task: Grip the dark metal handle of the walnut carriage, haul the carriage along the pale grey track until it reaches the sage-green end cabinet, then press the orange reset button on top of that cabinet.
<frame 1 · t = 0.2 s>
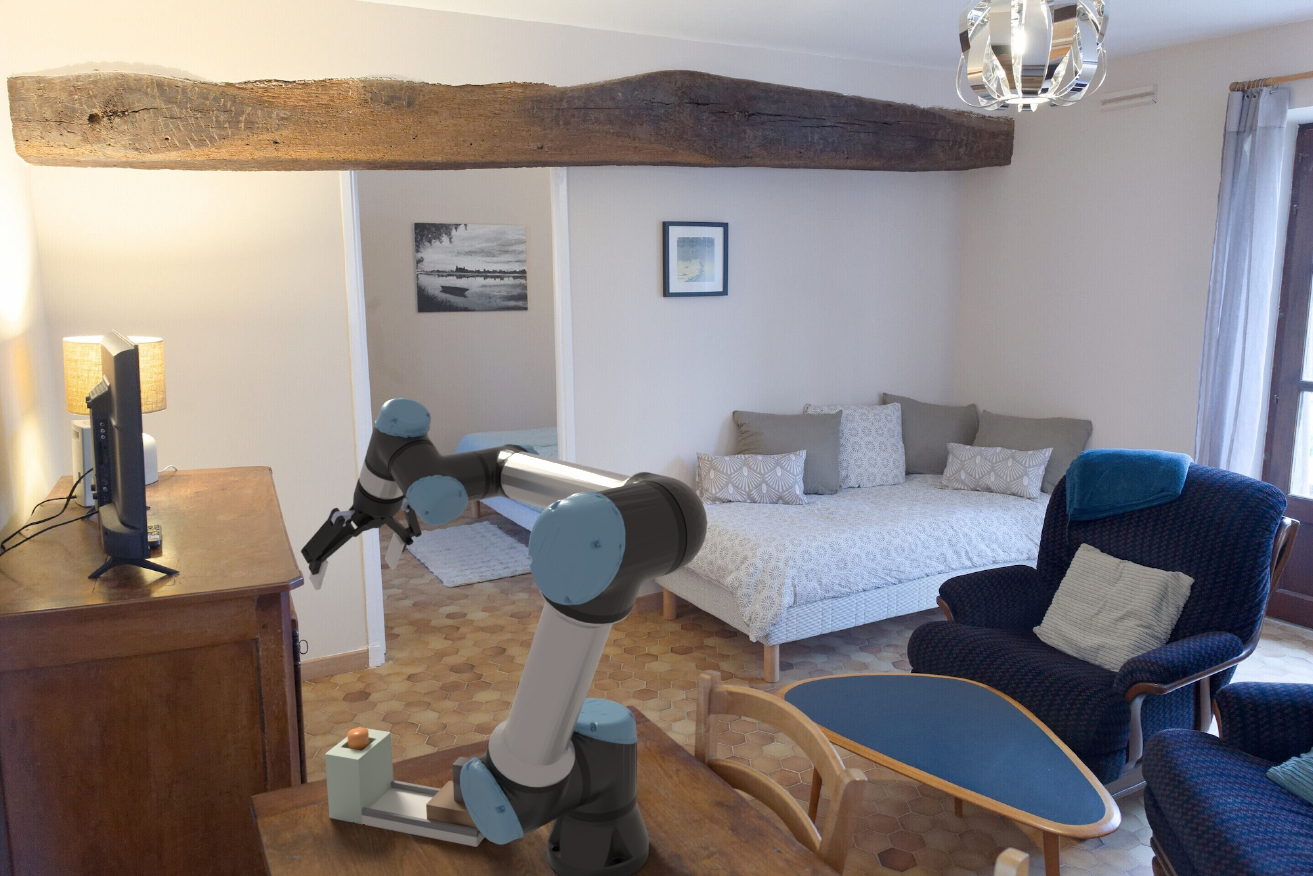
hand: (353, 573, 155), 35 cm above the table, tool tilted 35°, fingers open, 13 cm apart
reset button: (358, 739, 148), point 12 cm above the table, slide at 0.0 cm
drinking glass: (550, 756, 165), on the table
track: (433, 819, 146), on the table
carriage: (466, 788, 143), point 6 cm above the table, slide at 0.0 cm
end cabinet: (362, 805, 150), on the table
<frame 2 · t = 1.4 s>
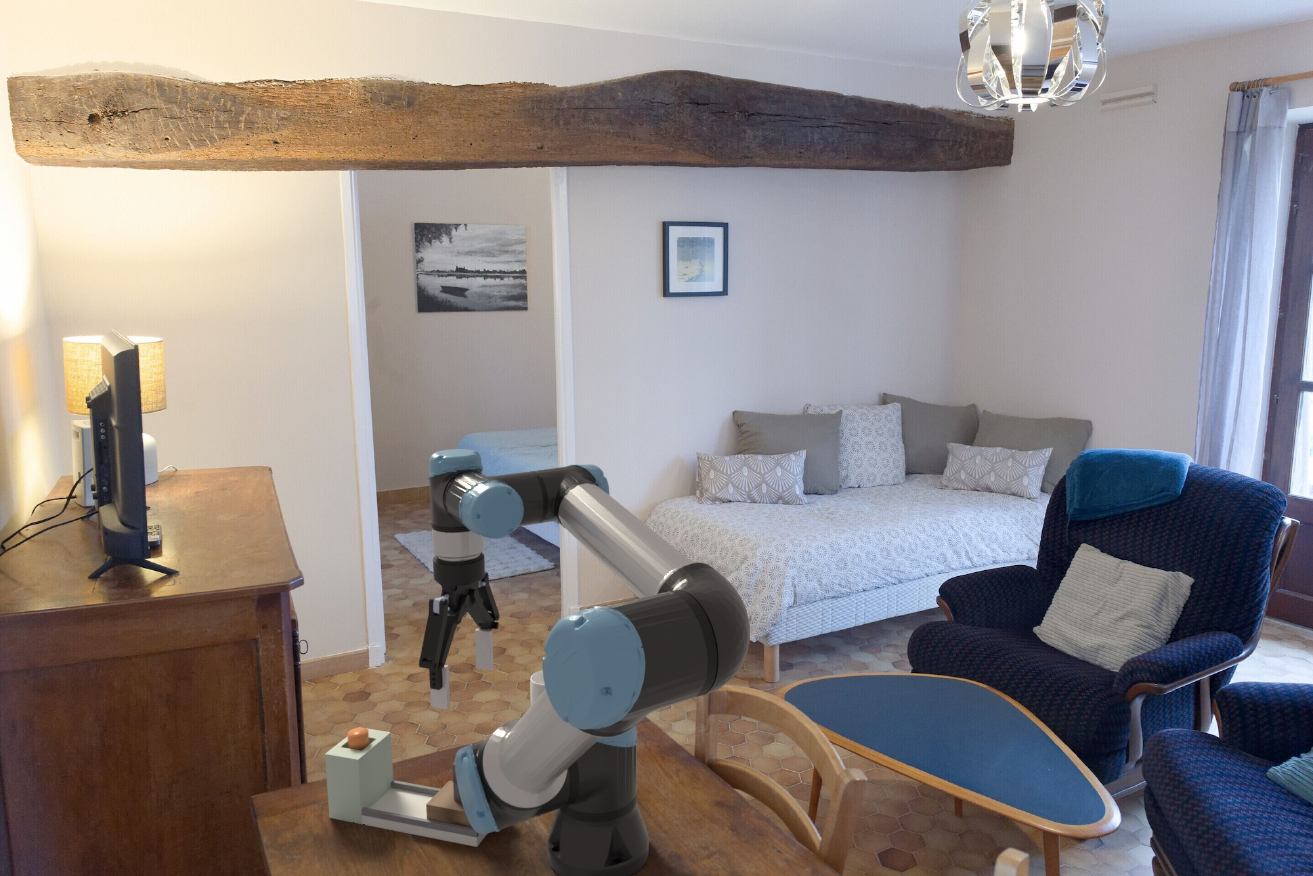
hand: (463, 687, 141), 23 cm above the table, tool pointing down, fingers open, 13 cm apart
nothing on the table moved.
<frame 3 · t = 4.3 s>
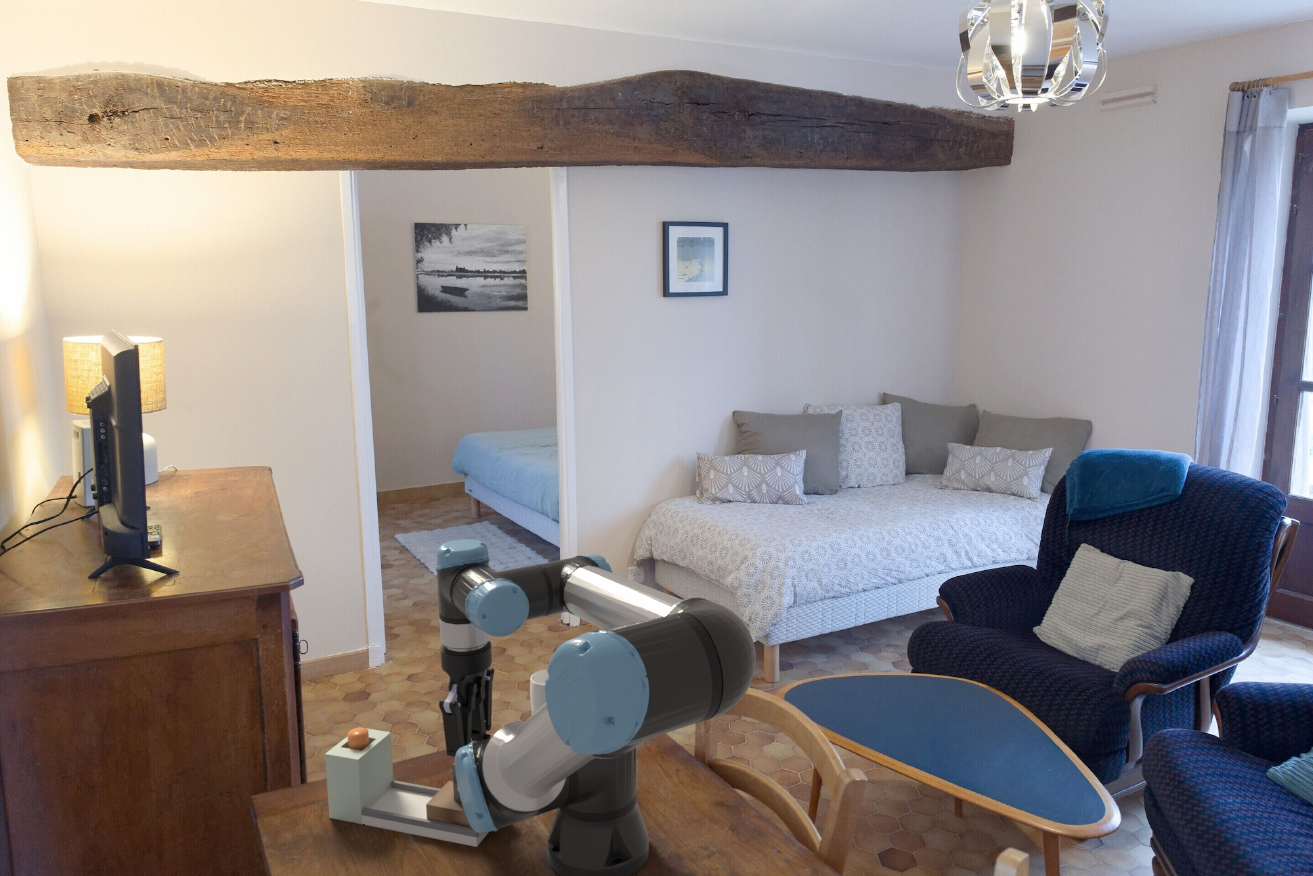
hand: (471, 785, 143), 7 cm above the table, tool pointing down, fingers closed on carriage, 2 cm apart
carriage: (466, 788, 143), point 6 cm above the table, slide at 0.0 cm, touching gripper
everything else where it was.
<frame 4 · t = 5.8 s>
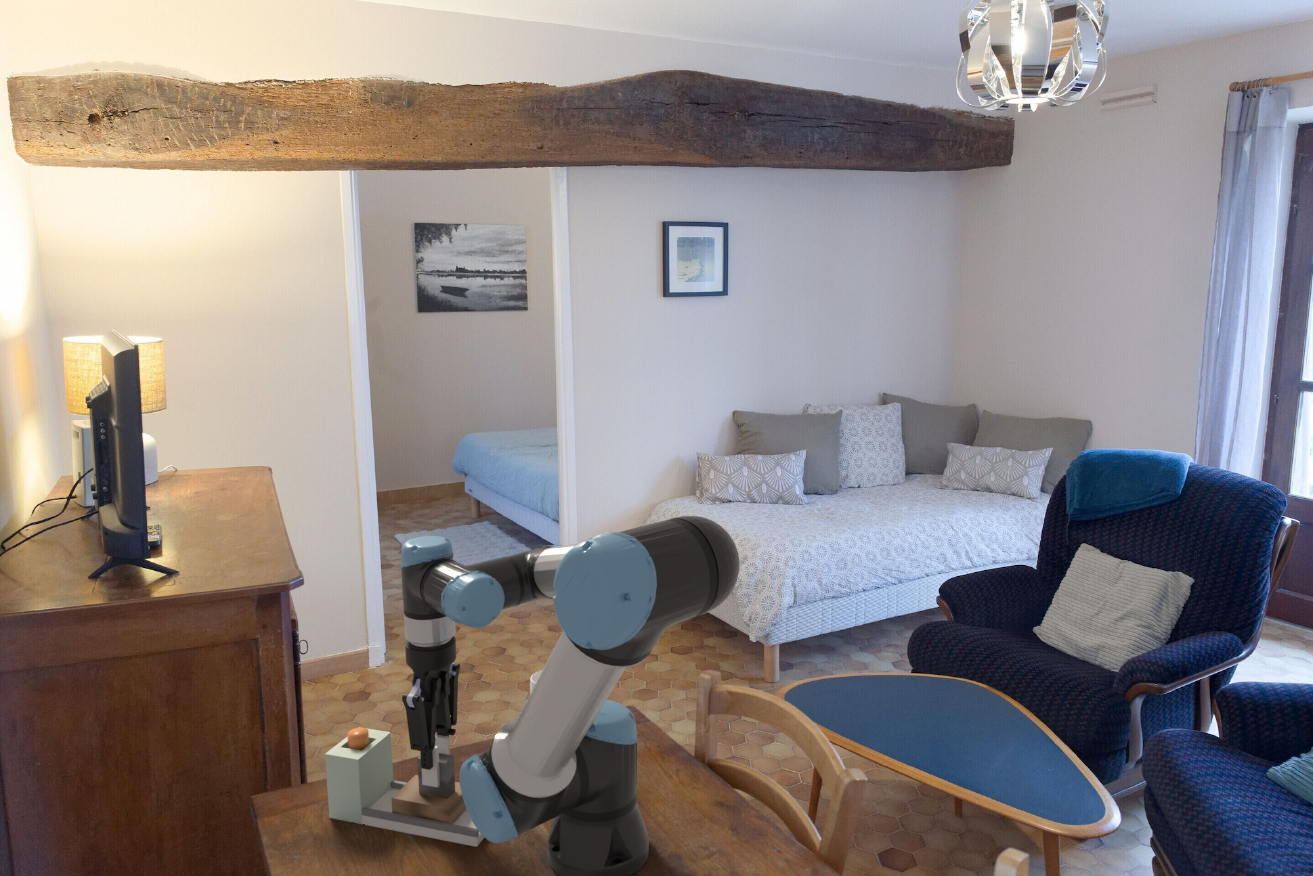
hand: (436, 779, 145), 7 cm above the table, tool pointing down, fingers closed on carriage, 2 cm apart
carriage: (431, 782, 145), point 6 cm above the table, slide at 6.1 cm, touching gripper
everything else where it was.
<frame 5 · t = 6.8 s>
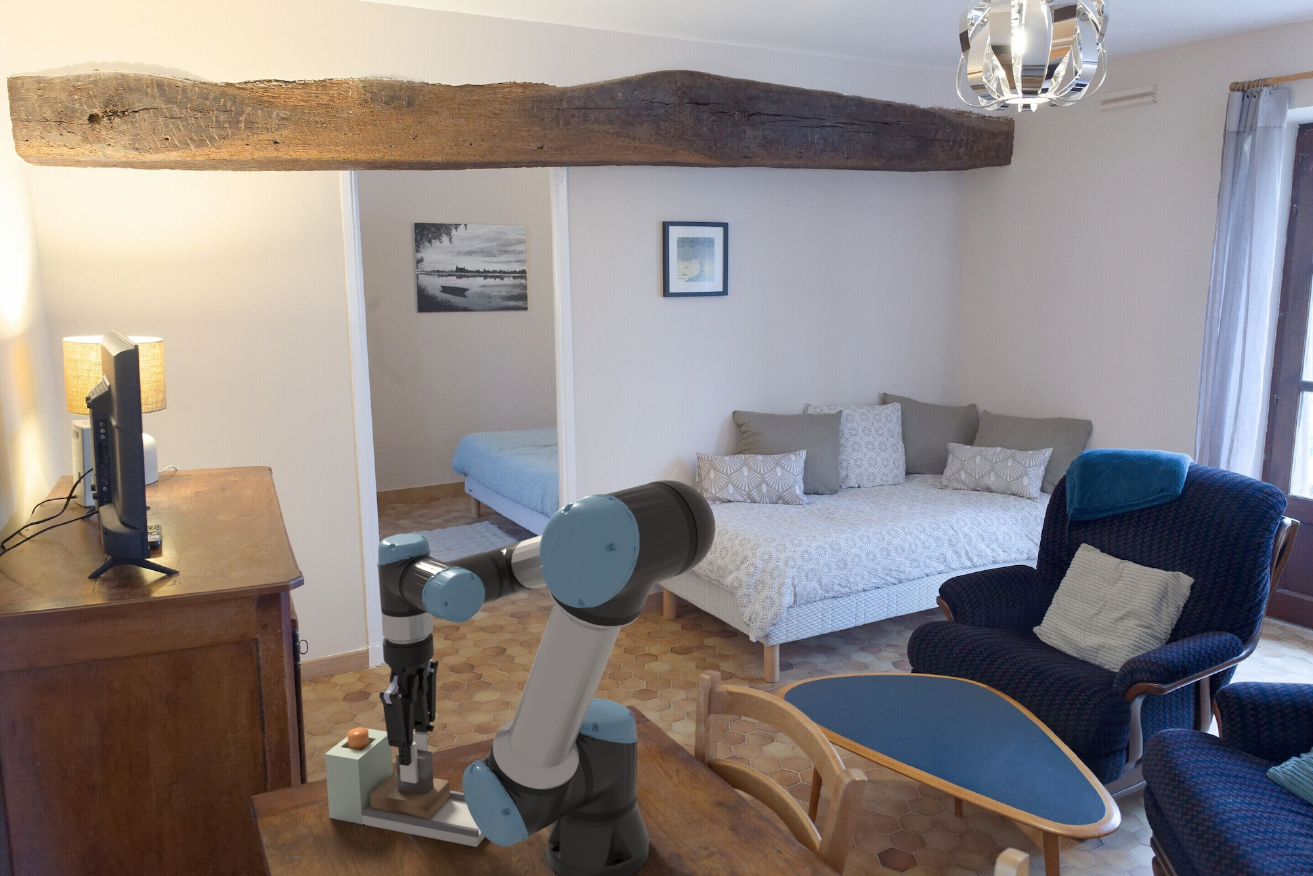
hand: (415, 775, 146), 7 cm above the table, tool pointing down, fingers closed on carriage, 2 cm apart
carriage: (409, 778, 146), point 6 cm above the table, slide at 9.9 cm, touching gripper
everything else where it was.
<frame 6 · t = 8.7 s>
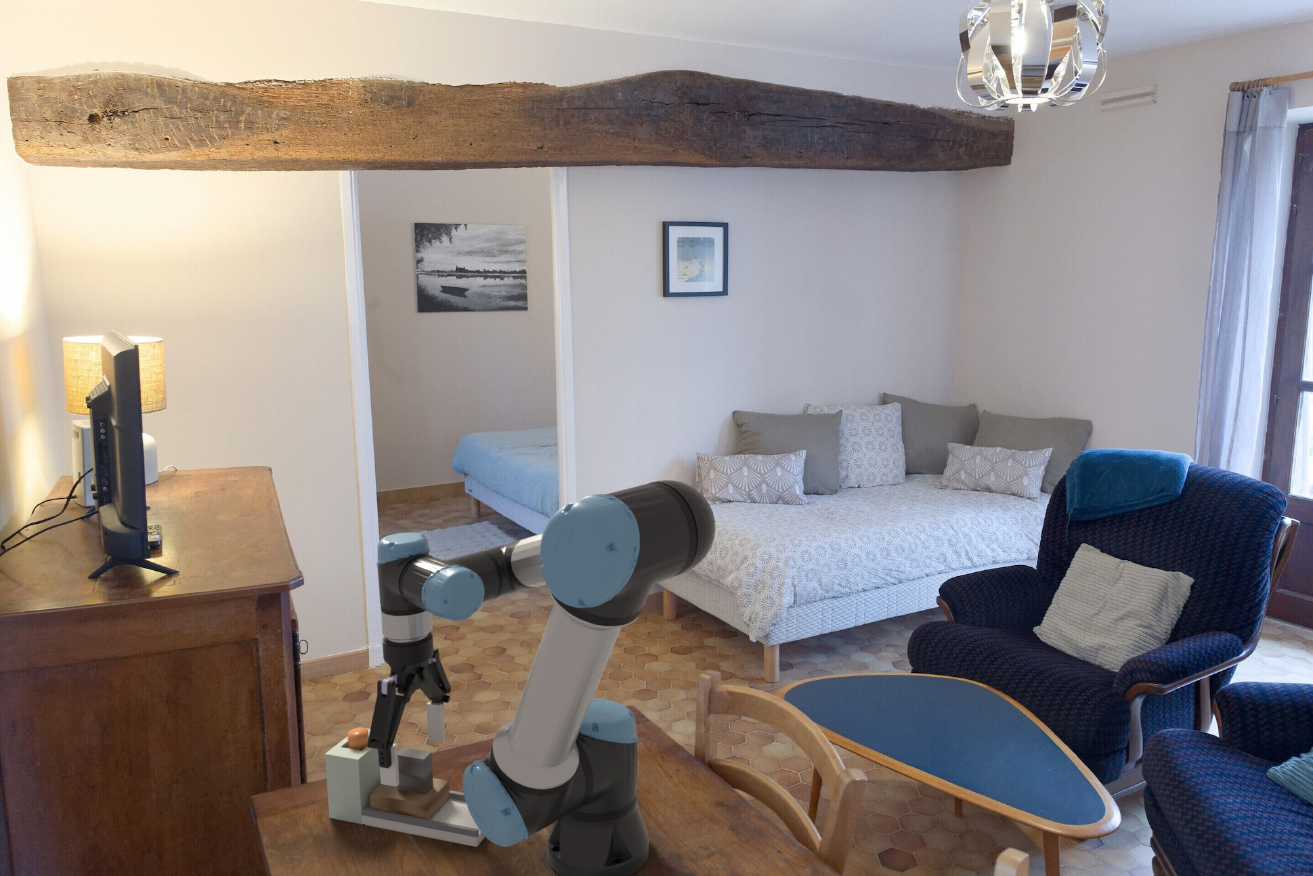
hand: (414, 761, 145), 9 cm above the table, tool pointing down, fingers open, 13 cm apart
carriage: (409, 778, 146), point 6 cm above the table, slide at 10.0 cm
everything else where it was.
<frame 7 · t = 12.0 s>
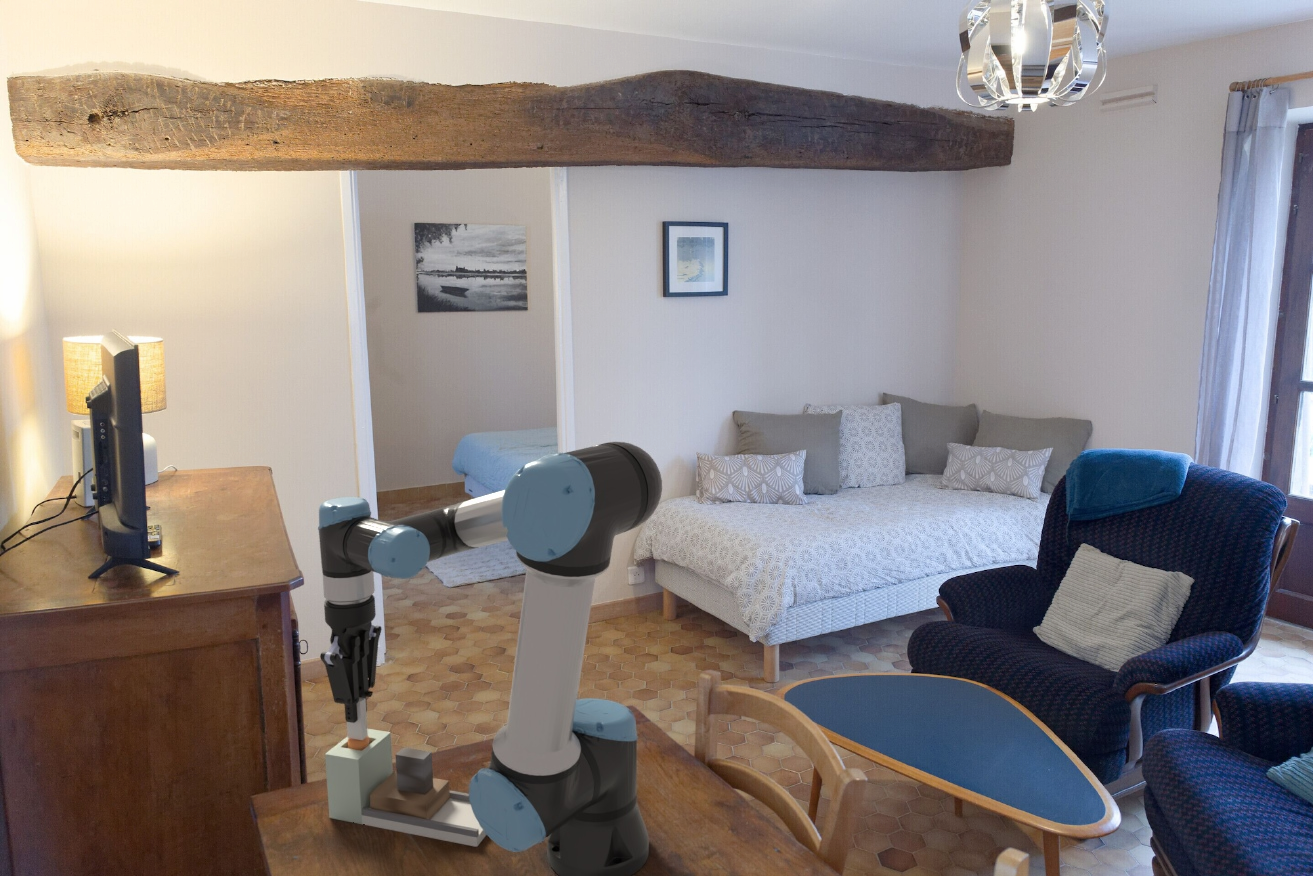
hand: (357, 736, 148), 12 cm above the table, tool pointing down, fingers closed
reset button: (358, 745, 148), point 11 cm above the table, slide at 1.1 cm, touching gripper
everything else where it was.
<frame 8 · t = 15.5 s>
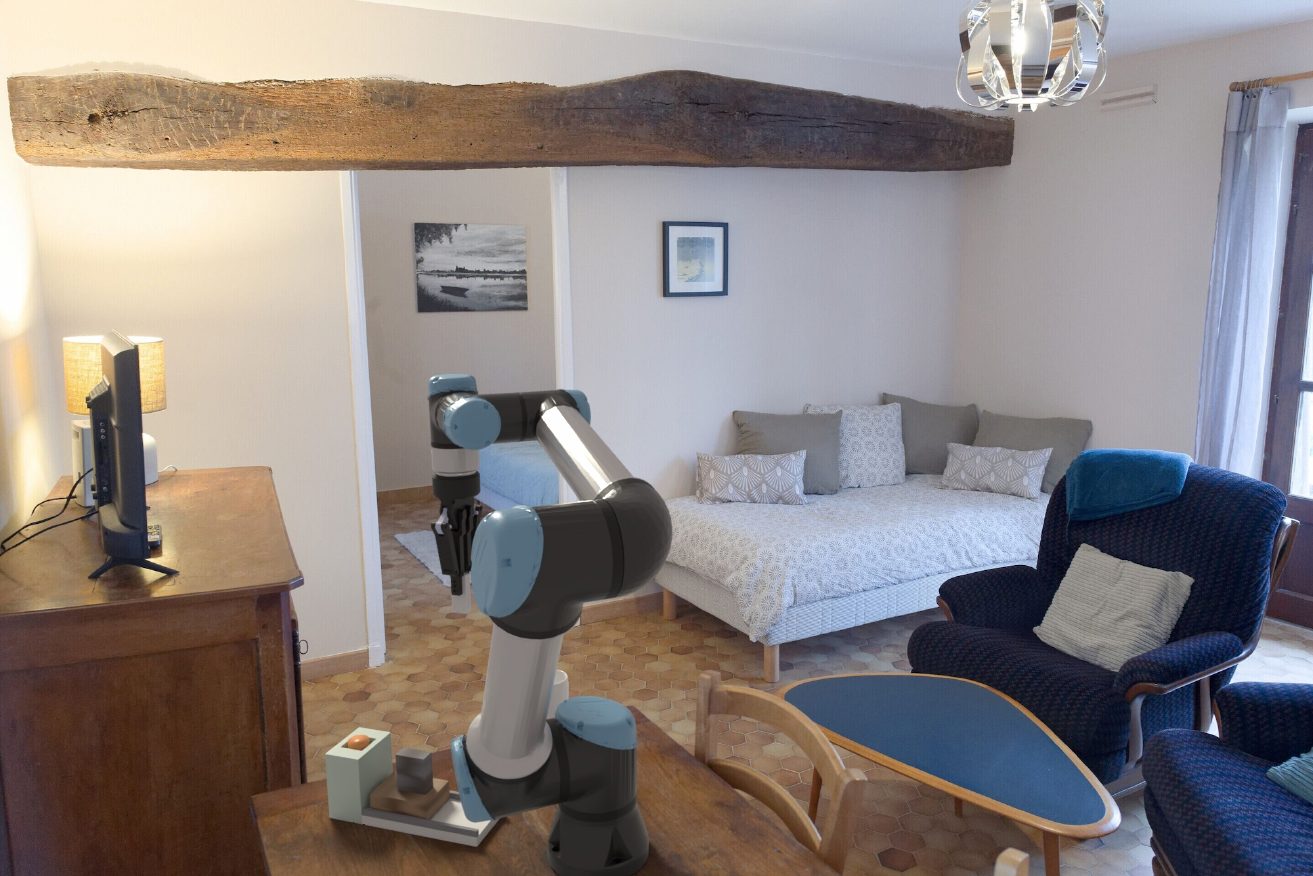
hand: (461, 611, 151), 30 cm above the table, tool pointing down, fingers closed
reset button: (358, 746, 148), point 10 cm above the table, slide at 1.2 cm
everything else where it was.
at the end: carriage slide at 10.0 cm; reset button slide at 1.2 cm; the gripper is holding nothing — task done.
